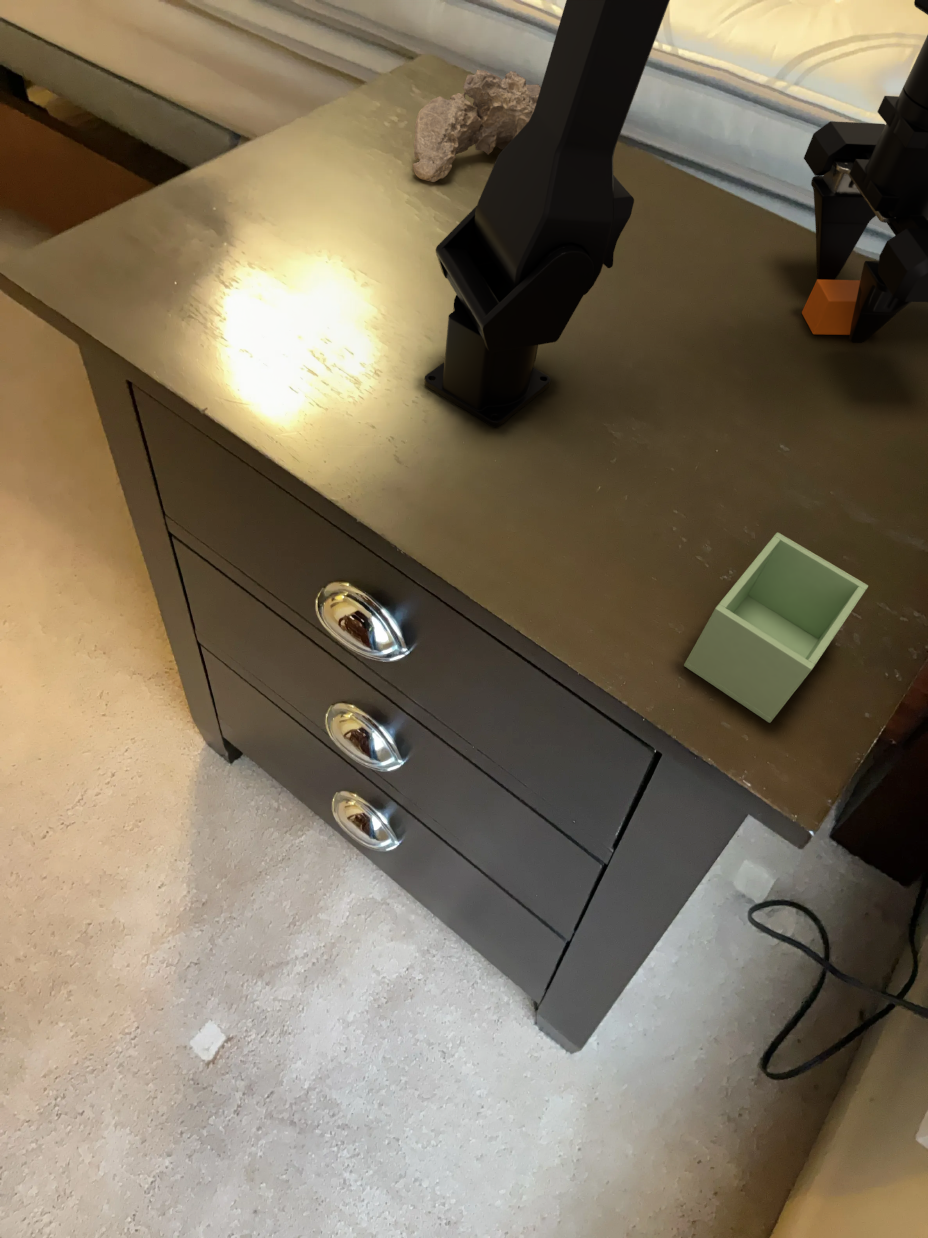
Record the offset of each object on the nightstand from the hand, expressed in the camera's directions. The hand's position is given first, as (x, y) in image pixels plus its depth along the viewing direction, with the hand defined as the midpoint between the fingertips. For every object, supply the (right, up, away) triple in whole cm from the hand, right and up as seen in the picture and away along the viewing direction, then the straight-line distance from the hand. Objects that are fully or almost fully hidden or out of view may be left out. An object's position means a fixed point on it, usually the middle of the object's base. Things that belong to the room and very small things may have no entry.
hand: (839, 312), depth 67 cm
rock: (-27, +17, +11) cm, 34 cm away
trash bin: (-13, -26, -19) cm, 34 cm away
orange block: (0, -1, +1) cm, 1 cm away
